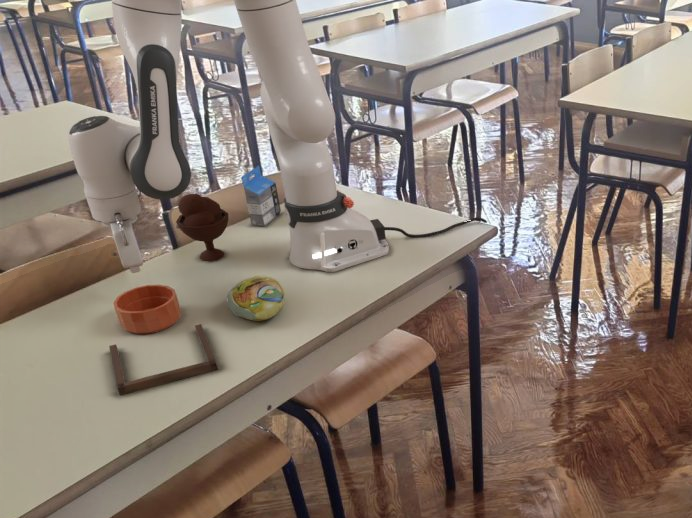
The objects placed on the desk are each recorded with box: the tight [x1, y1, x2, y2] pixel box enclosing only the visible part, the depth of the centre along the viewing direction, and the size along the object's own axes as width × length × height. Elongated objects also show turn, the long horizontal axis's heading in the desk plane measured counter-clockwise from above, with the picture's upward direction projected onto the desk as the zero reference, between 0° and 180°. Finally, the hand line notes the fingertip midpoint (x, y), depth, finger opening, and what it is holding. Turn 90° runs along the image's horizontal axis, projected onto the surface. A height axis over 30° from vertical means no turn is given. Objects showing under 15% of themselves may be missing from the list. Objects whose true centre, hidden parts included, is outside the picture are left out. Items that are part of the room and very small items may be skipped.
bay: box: [108, 323, 219, 396], centre depth 138 cm, size 16×15×2 cm
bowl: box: [113, 284, 183, 335], centre depth 149 cm, size 11×11×5 cm
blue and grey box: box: [240, 165, 282, 227], centre depth 187 cm, size 9×4×12 cm, turn 167°
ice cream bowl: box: [175, 193, 230, 263], centre depth 169 cm, size 11×11×15 cm
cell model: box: [227, 275, 285, 322], centre depth 152 cm, size 11×8×15 cm
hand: (135, 269), depth 154 cm, fingers closed
